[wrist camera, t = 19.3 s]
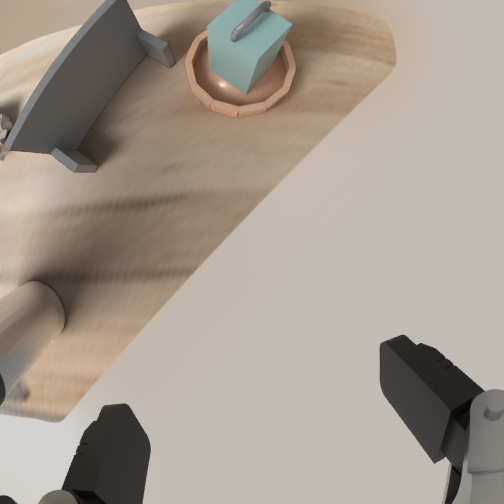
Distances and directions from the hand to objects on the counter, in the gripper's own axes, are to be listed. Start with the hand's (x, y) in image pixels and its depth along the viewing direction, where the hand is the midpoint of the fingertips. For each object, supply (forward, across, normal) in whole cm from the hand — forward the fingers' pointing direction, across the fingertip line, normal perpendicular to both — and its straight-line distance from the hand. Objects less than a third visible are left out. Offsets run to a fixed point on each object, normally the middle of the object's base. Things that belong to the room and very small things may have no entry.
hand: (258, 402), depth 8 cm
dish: (+30, -6, -20) cm, 36 cm away
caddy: (+29, -6, -20) cm, 36 cm away
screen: (+30, +10, -19) cm, 37 cm away
